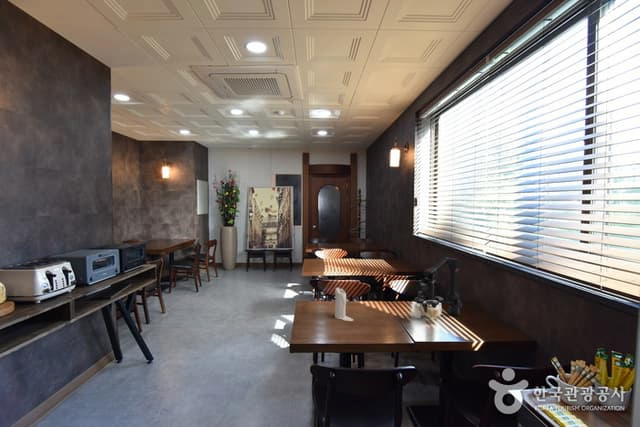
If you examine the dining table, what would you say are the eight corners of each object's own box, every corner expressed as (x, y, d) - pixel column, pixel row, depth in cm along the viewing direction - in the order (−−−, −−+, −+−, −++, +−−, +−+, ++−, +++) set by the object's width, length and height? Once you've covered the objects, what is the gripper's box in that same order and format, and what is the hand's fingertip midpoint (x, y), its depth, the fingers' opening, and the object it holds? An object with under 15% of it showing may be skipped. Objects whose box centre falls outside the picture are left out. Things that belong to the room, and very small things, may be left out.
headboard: (440, 314, 227) (440, 302, 227) (444, 316, 221) (444, 304, 221) (412, 315, 223) (412, 303, 223) (416, 318, 217) (416, 305, 217)
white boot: (350, 322, 207) (351, 291, 207) (332, 317, 215) (333, 287, 215) (356, 319, 213) (356, 289, 212) (338, 314, 221) (339, 285, 221)
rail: (425, 310, 222) (425, 303, 222) (437, 318, 206) (437, 310, 206) (419, 311, 221) (420, 303, 221) (431, 319, 206) (431, 310, 205)
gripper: (435, 286, 223) (435, 308, 223) (410, 286, 219) (410, 309, 220) (444, 290, 212) (444, 313, 212) (418, 291, 208) (417, 314, 209)
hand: (428, 312), depth 213 cm, fingers closed on rail, 4 cm apart
